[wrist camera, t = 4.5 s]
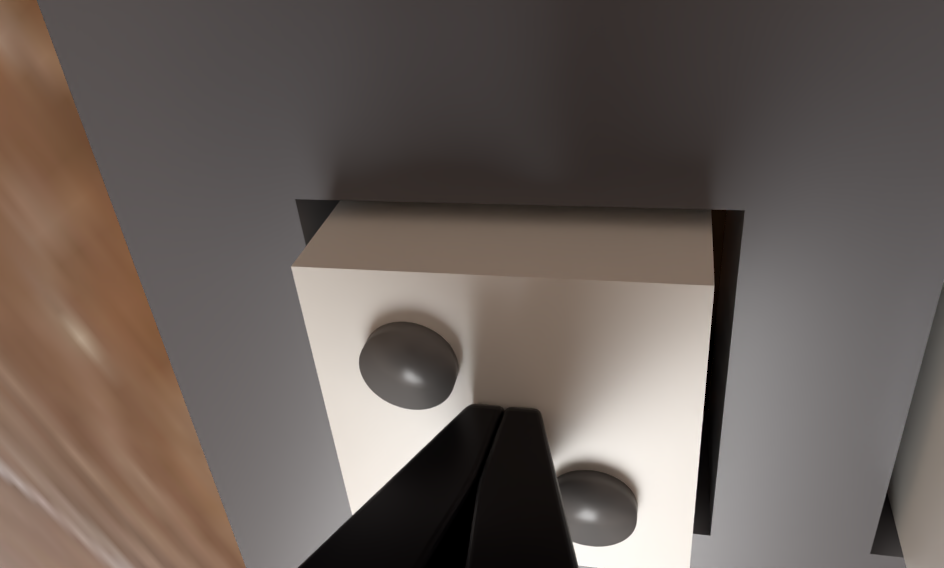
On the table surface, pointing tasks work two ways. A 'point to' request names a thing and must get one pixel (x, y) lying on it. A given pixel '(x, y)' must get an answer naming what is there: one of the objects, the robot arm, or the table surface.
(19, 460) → the table surface
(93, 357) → the table surface
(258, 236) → the button panel
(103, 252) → the table surface
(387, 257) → the tile two dots
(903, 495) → the tile one dot
